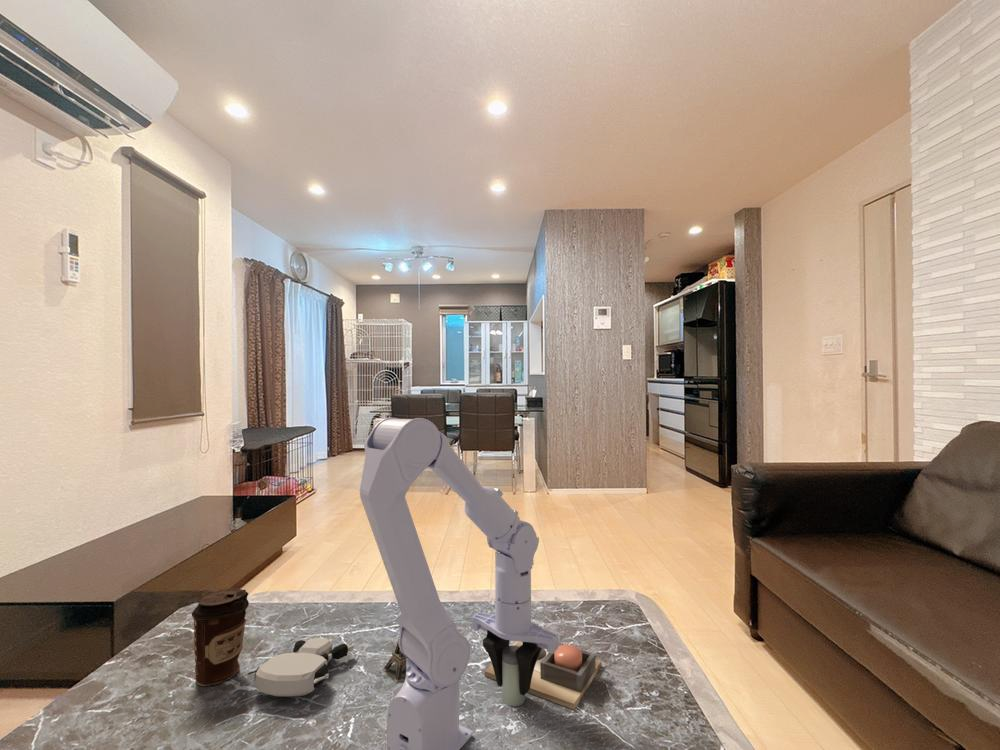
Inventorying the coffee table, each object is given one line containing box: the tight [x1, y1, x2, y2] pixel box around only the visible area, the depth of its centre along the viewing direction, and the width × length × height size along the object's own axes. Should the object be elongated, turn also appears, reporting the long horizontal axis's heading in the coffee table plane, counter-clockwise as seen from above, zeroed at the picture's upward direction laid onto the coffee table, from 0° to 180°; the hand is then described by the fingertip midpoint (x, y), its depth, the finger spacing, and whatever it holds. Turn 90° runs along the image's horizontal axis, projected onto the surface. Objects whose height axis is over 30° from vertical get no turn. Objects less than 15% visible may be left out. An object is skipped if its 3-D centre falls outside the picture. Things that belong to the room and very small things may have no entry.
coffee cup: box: [191, 587, 250, 687], centre depth 73 cm, size 9×8×13 cm
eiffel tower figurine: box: [381, 637, 407, 685], centre depth 74 cm, size 15×10×13 cm
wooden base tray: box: [484, 641, 602, 710], centre depth 74 cm, size 13×16×3 cm
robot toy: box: [242, 637, 355, 697], centre depth 72 cm, size 12×4×15 cm
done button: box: [554, 644, 582, 672], centre depth 72 cm, size 5×5×2 cm
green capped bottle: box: [501, 645, 526, 707], centre depth 67 cm, size 4×4×7 cm
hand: (513, 687), depth 67 cm, fingers closed on green capped bottle, 3 cm apart
